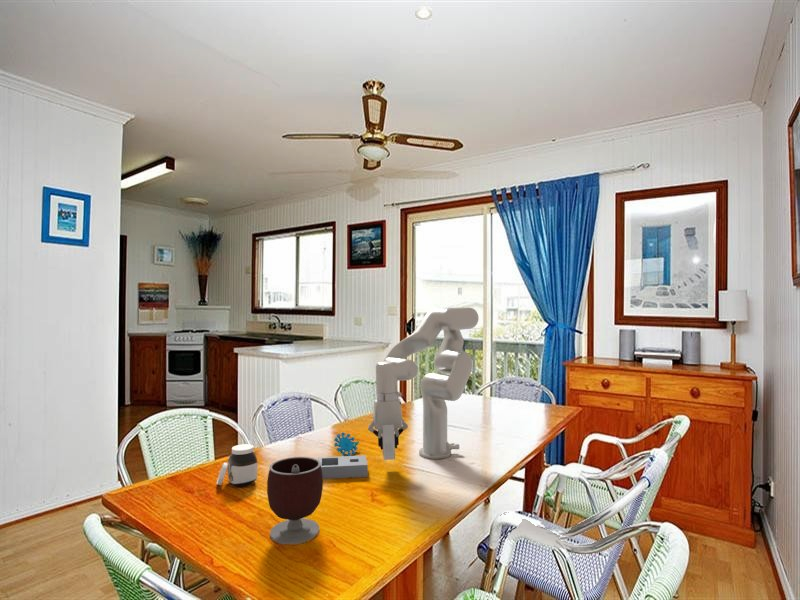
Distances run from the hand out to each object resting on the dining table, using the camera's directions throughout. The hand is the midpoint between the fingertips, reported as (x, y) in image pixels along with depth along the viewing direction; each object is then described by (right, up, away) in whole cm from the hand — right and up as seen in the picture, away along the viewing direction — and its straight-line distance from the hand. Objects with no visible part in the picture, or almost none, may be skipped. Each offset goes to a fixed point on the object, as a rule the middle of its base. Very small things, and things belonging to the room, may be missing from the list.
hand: (388, 447), depth 160 cm
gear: (-17, -9, +18) cm, 26 cm away
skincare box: (0, -4, 0) cm, 4 cm away
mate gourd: (-23, -7, -45) cm, 51 cm away
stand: (-16, -8, -3) cm, 18 cm away
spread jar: (-50, -8, -13) cm, 52 cm away
